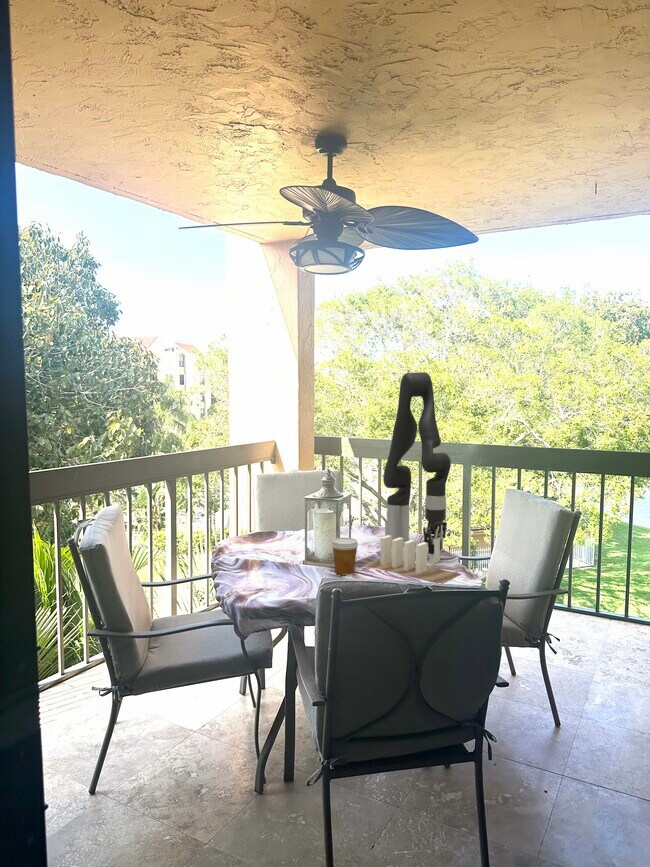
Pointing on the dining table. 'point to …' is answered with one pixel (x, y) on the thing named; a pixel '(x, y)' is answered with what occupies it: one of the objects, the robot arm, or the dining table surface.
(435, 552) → the domino
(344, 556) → the disposable coffee cup
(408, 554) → the domino
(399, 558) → the domino
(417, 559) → the domino
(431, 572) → the walnut board
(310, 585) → the dining table surface
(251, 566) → the dining table surface
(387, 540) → the domino
